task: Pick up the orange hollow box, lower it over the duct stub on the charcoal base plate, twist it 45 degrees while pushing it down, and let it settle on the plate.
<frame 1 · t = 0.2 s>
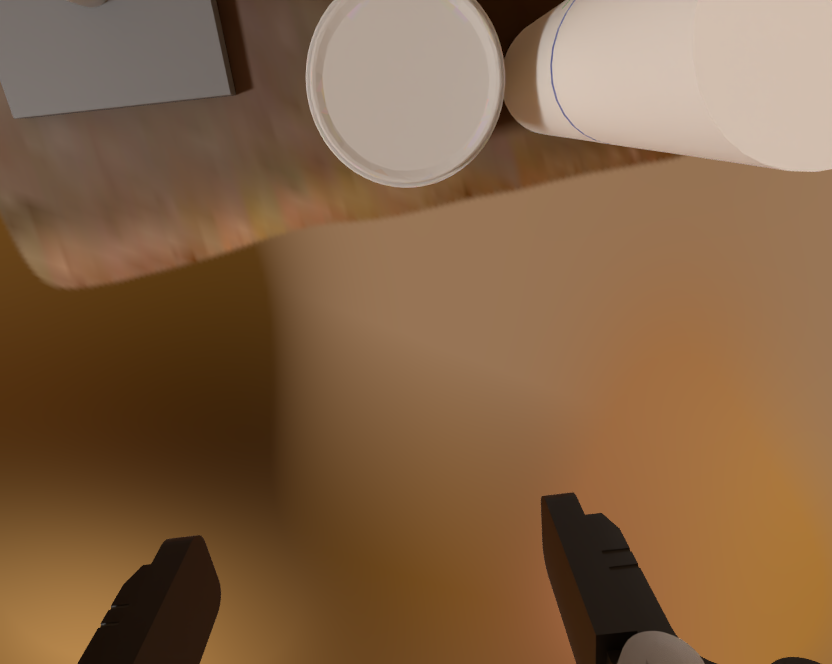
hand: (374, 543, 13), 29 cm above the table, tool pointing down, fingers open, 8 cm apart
coffee cup: (403, 93, 36), on the table
cylindrical container: (553, 77, 35), on the table
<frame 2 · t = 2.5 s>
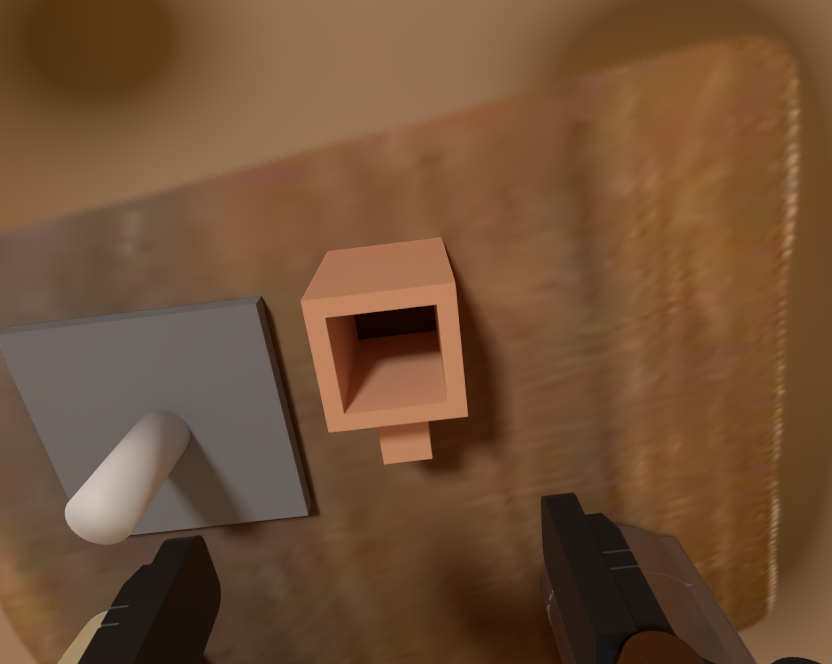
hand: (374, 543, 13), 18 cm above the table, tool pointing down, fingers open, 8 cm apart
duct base: (172, 421, 32), on the table
coffee cup: (138, 642, 39), on the table
orange hollow box: (392, 298, 29), on the table
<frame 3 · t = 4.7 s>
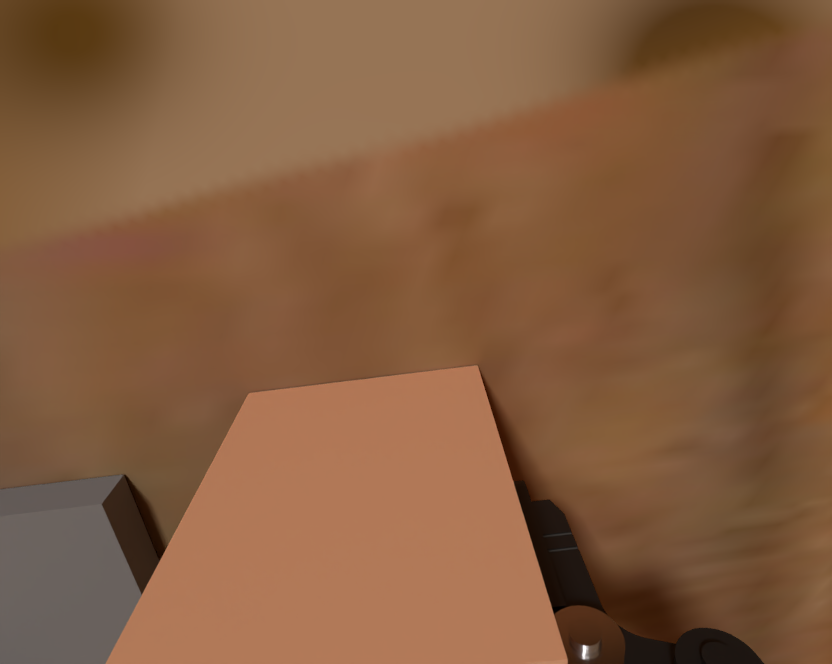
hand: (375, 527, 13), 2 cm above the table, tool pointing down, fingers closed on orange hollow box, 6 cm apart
orange hollow box: (379, 473, 15), on the table, touching gripper
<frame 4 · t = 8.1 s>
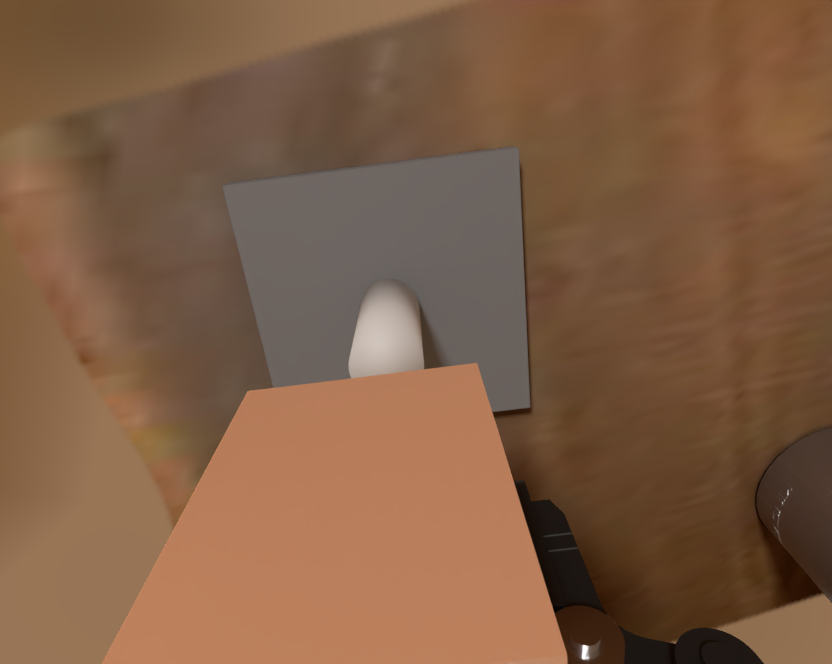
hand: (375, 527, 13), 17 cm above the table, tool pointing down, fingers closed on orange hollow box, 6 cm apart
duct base: (390, 299, 29), on the table
orange hollow box: (379, 471, 15), point 15 cm above the table, touching gripper
when the fingers open (5 cm above the table, at t = 11.6 s): orange hollow box drops 1 cm, resting on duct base.
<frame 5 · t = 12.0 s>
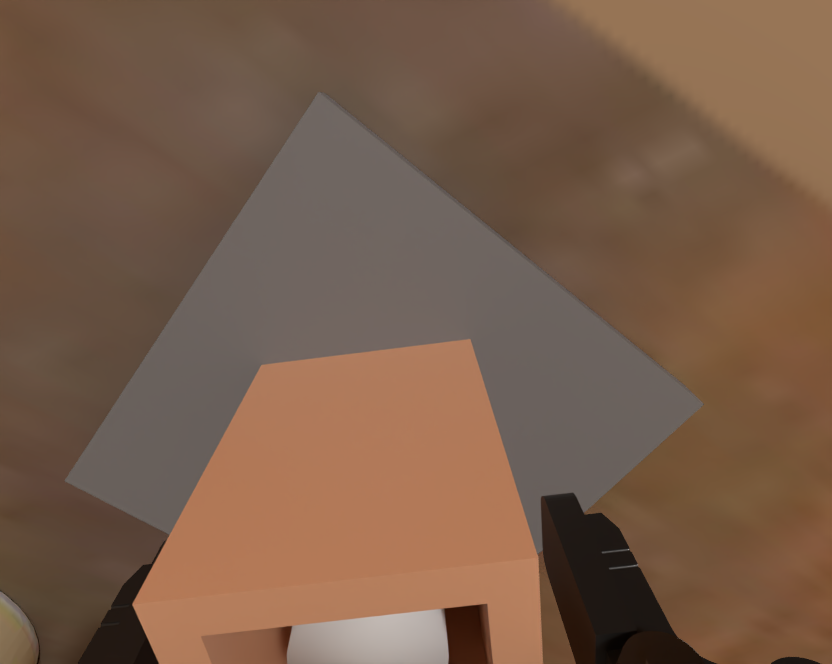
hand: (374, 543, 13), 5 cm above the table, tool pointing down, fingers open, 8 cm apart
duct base: (381, 421, 17), on the table
orange hollow box: (380, 440, 16), point 1 cm above the table, touching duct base
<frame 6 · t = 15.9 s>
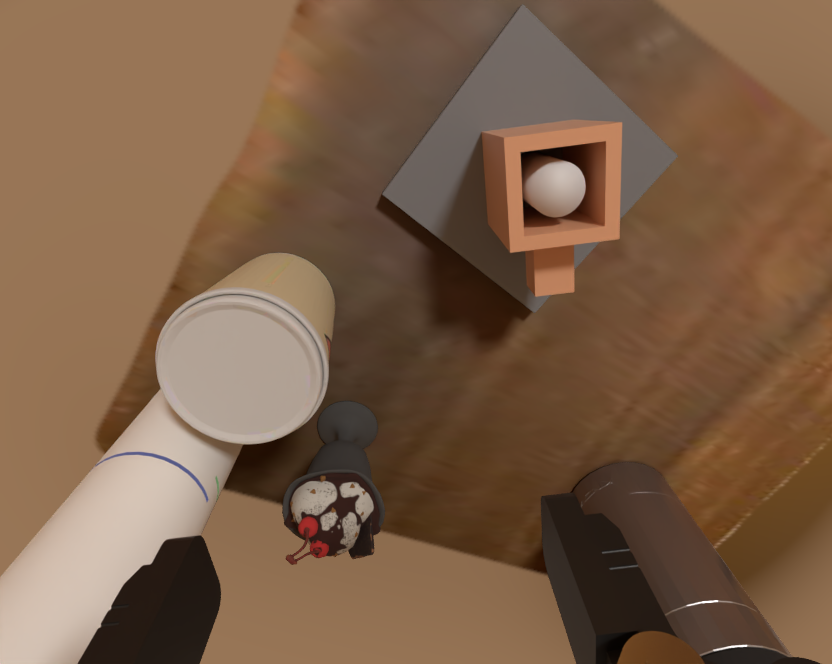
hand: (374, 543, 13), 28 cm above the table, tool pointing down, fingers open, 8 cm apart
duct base: (525, 173, 37), on the table
sundae: (347, 425, 44), on the table
coffee cup: (284, 301, 40), on the table
orange hollow box: (529, 173, 36), point 1 cm above the table, touching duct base
cylindrical container: (216, 395, 43), on the table
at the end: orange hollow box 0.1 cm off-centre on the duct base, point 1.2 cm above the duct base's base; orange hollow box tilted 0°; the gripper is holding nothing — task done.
